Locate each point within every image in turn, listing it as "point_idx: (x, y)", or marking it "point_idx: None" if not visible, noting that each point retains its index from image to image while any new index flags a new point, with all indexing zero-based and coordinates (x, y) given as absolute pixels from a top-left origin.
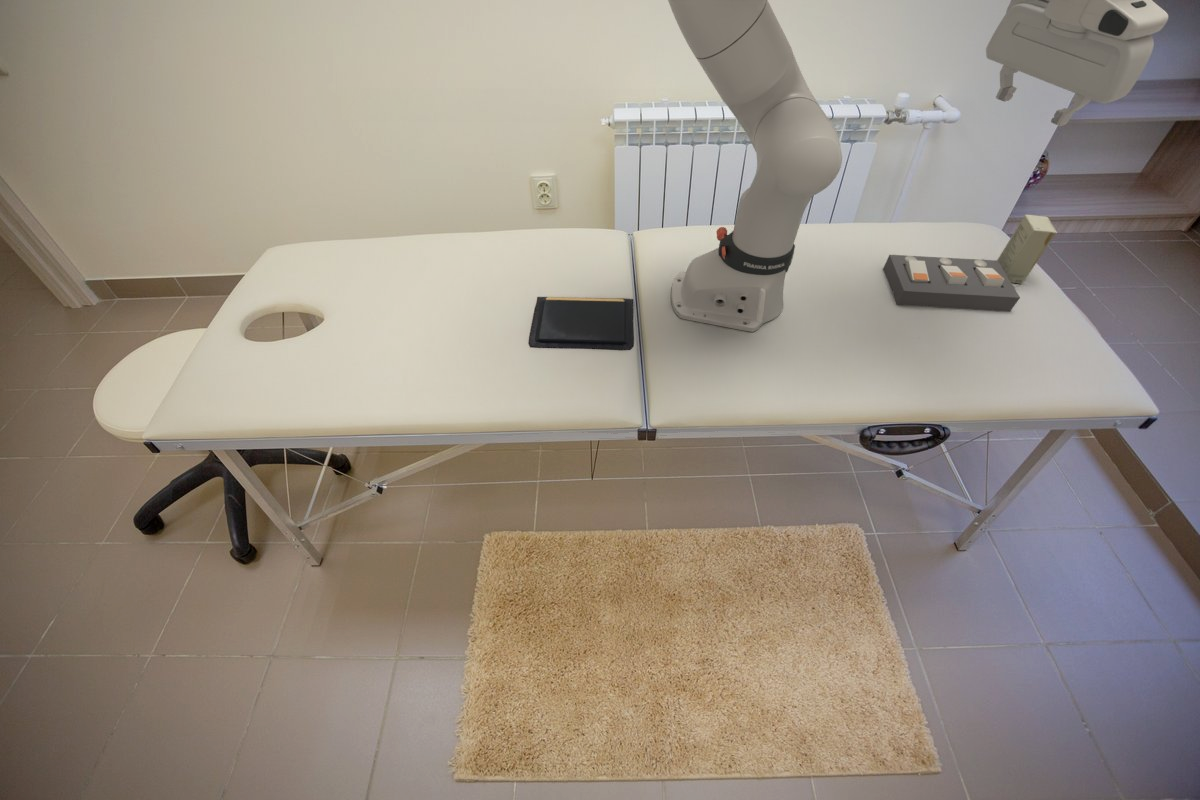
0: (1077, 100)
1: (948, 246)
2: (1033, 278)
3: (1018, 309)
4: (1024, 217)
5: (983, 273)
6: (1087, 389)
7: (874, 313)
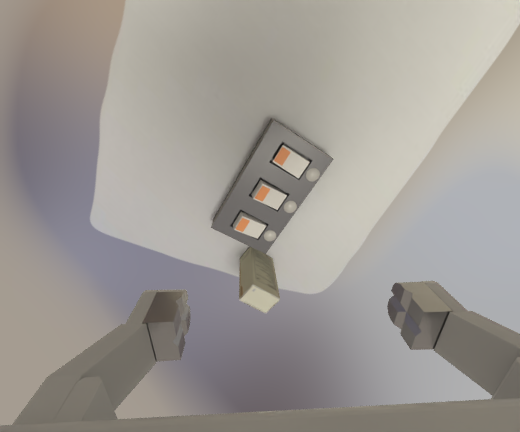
0: (61, 392)
1: (316, 244)
2: None
3: None
4: (278, 296)
5: (252, 221)
6: (102, 195)
7: (272, 78)
